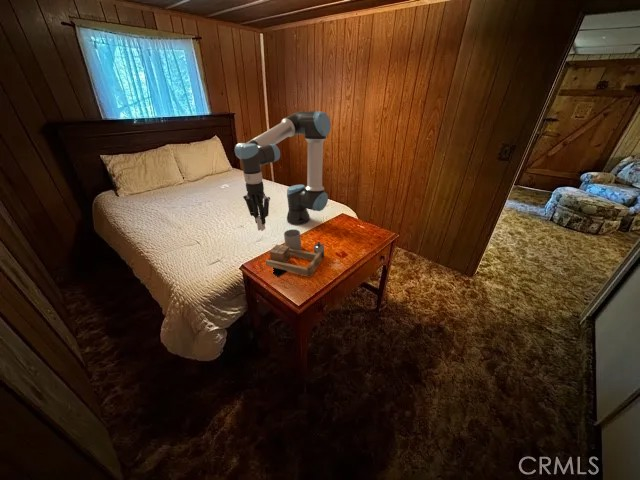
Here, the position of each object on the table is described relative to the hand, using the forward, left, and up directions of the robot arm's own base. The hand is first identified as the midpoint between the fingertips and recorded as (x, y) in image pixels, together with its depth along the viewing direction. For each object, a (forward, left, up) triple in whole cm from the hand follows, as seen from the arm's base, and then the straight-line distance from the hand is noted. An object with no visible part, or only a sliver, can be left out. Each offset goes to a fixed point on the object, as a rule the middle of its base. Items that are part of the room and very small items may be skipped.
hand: (261, 229), depth 123 cm
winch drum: (-10, +26, -16) cm, 32 cm away
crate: (0, +8, -17) cm, 19 cm away
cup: (-12, +10, -17) cm, 23 cm away
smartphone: (+7, +8, -17) cm, 20 cm away
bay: (0, +16, -16) cm, 23 cm away
